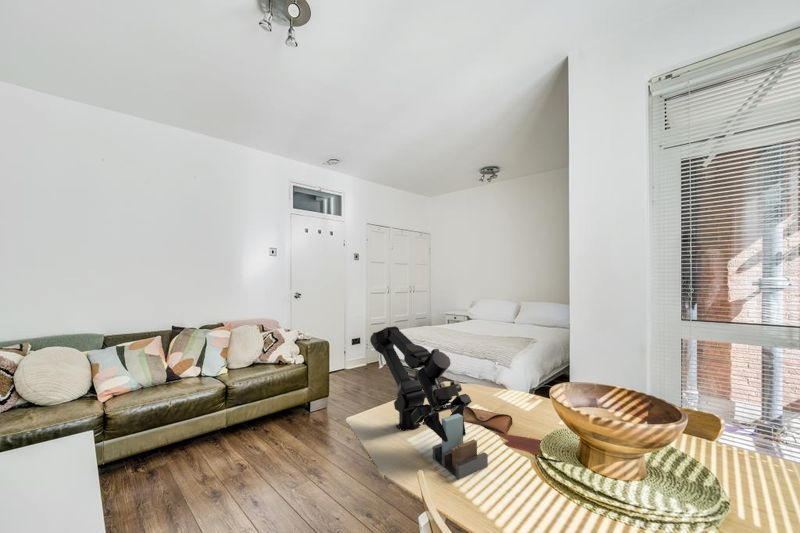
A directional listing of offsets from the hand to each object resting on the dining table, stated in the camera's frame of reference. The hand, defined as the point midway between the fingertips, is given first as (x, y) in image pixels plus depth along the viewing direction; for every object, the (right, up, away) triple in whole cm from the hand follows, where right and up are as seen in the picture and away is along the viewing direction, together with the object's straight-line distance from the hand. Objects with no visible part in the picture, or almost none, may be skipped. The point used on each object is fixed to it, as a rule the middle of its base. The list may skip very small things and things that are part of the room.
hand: (455, 438), depth 88 cm
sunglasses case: (+14, -8, +23) cm, 27 cm away
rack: (+1, -7, -1) cm, 7 cm away
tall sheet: (-1, -6, +1) cm, 6 cm away
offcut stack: (+2, -6, -3) cm, 7 cm away
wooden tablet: (+20, -7, +9) cm, 23 cm away
